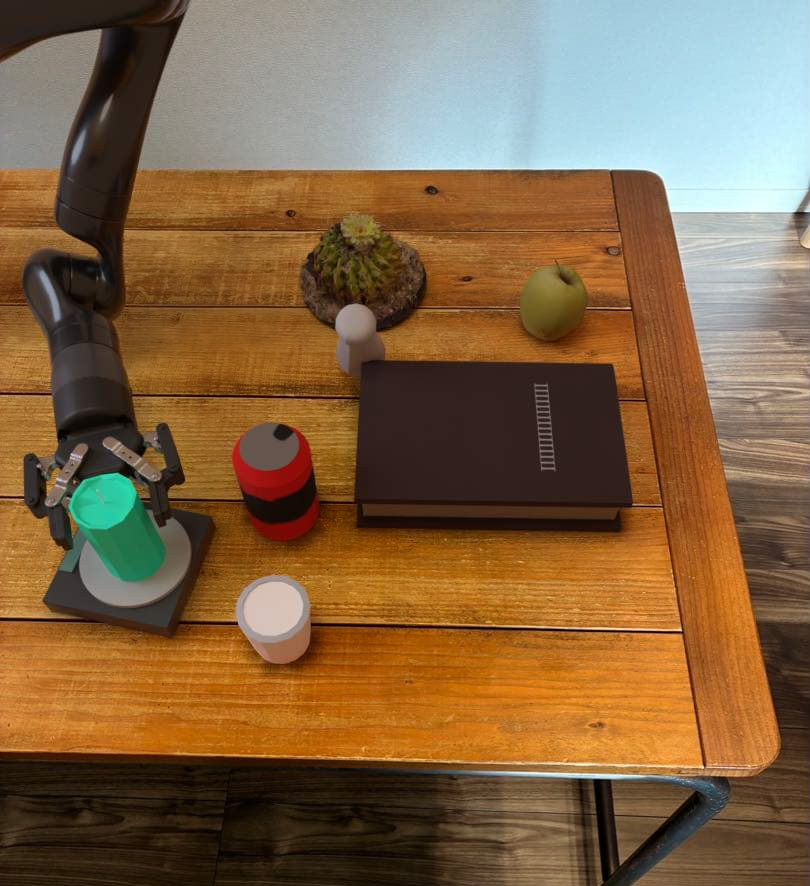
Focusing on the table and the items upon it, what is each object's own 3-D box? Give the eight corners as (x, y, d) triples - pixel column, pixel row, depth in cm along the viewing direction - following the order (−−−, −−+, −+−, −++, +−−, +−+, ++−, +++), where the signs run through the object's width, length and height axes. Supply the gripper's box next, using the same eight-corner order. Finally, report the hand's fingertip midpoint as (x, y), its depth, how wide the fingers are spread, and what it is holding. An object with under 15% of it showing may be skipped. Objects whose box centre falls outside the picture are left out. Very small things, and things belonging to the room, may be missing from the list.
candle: (175, 537, 83) (143, 470, 73) (151, 588, 80) (113, 526, 70) (121, 523, 84) (81, 455, 73) (95, 573, 81) (49, 510, 70)
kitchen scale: (50, 611, 82) (39, 598, 80) (102, 504, 88) (93, 489, 86) (172, 638, 81) (165, 626, 78) (216, 527, 87) (210, 512, 84)
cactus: (415, 341, 100) (417, 280, 92) (288, 326, 101) (277, 264, 93) (435, 245, 108) (438, 181, 100) (317, 231, 110) (310, 167, 101)
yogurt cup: (237, 661, 80) (224, 633, 74) (260, 599, 83) (249, 567, 77) (305, 677, 79) (297, 650, 73) (325, 614, 82) (319, 583, 76)
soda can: (333, 504, 89) (325, 437, 78) (290, 554, 86) (275, 492, 75) (279, 471, 91) (263, 402, 80) (234, 519, 88) (212, 454, 77)
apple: (506, 343, 99) (524, 264, 92) (520, 313, 104) (537, 238, 97) (570, 360, 97) (593, 282, 91) (581, 329, 103) (603, 253, 96)
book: (600, 389, 97) (612, 355, 91) (619, 532, 87) (633, 503, 82) (364, 385, 97) (361, 351, 92) (356, 528, 87) (354, 498, 82)
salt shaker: (330, 346, 97) (318, 305, 84) (374, 328, 97) (369, 284, 84) (349, 390, 97) (340, 356, 84) (393, 372, 97) (391, 335, 84)
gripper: (4, 392, 78) (16, 533, 70) (154, 359, 80) (182, 493, 72) (34, 439, 84) (49, 573, 77) (172, 407, 86) (200, 535, 79)
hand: (114, 534), depth 74 cm, fingers open, 8 cm apart
